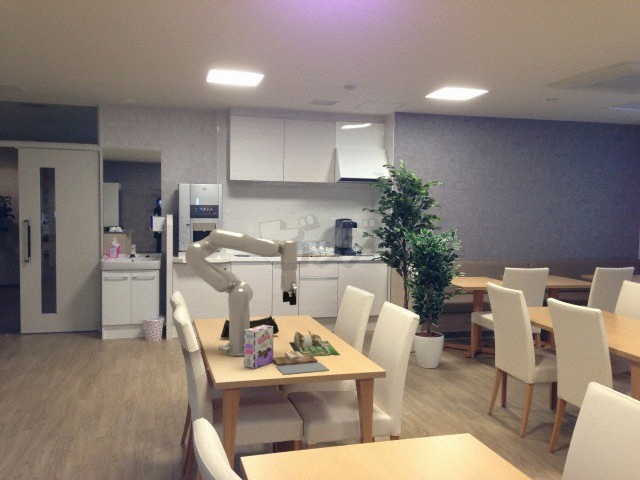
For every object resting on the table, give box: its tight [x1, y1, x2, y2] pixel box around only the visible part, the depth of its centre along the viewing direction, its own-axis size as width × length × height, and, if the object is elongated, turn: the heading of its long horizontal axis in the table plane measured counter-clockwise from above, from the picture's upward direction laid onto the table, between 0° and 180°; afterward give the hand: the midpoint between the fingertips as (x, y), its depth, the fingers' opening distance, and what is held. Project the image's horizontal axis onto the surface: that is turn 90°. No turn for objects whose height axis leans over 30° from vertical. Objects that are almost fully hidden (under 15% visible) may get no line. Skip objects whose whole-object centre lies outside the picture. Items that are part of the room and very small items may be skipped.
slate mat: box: [275, 361, 330, 376], centre depth 240 cm, size 20×12×1 cm, turn 110°
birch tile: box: [284, 351, 304, 362], centre depth 251 cm, size 6×9×2 cm, turn 20°
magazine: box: [220, 315, 280, 339], centre depth 297 cm, size 17×3×30 cm
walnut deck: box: [272, 355, 319, 366], centre depth 250 cm, size 18×10×2 cm, turn 110°
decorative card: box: [288, 330, 341, 357], centre depth 277 cm, size 33×8×20 cm
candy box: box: [243, 325, 274, 370], centre depth 246 cm, size 14×6×16 cm, turn 148°
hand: (289, 303), depth 262 cm, fingers open, 9 cm apart
